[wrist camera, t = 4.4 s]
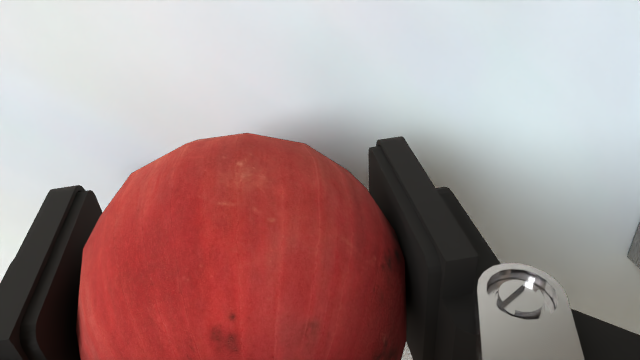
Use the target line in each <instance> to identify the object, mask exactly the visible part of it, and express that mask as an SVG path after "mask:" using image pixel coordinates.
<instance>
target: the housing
mask: <svg viewBox="0 0 640 360" xmlns="http://www.w3.org/2000/svg"><path fill="white" fill-rule="evenodd" d="M627 257H628V258H629V259H630V260H631V261H632V262H633V263H635V264H636V265H637V266H638V267H639V268H640V223H639V226H638V229H637V232H636V234H635V237H634V240H633V243H632V245H631V248H630V251H629V254H628V256H627Z"/></svg>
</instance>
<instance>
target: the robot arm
mask: <svg viewBox="0 0 640 360" xmlns="http://www.w3.org/2000/svg"><path fill="white" fill-rule="evenodd" d="M369 193H370V195H371V196H372V198H373V199H374V201H375V202H376V204H377V205H378V206H379V208H380V209H381V211H382V212H383V214H384V215H385V217H386V218H387V220H388V221H389V223H390V224H391V226H392V227H393V229H394V230H395V233H396V235H397V238H398V241H399V244H400V247H401V250H402V253H403V256H404V259H405V284H406V341H407V344H408V347H409V349H410V352H411V355H412V357H413V360H640V335H638V334H635V333H632V332H630V331H627V330H625V329H622V328H619V327H617V326H614V325H612V324H609V323H607V322H604V321H601V320H599V319H596V318H594V317H591V316H588V315H586V314H583V313H581V312H578V311H575V310H573V309H571V308H570V304H569V301H568V297H567V295H566V293H565V291H564V289H563V287H562V286H561V285H560V284H559V283H558V282H557V281H556V279H555V278H553V277H552V276H550V275H549V274H547V273H546V272H544V271H543V270H540V269H538V268H535V267H532V266H530V265H525V264H519V263H503V264H500V262H499V261H498V259H497V258H496V256H495V255H494V253H493V252H492V250H491V249H490V247H489V246H488V244H487V243H486V241H485V240H484V239H483V237H482V236H481V234H480V233H479V231H478V230H477V228H476V227H475V225H474V224H473V222H472V221H471V219H470V218H469V216H468V215H467V213H466V212H465V210H464V209H463V207H462V206H461V204H460V203H459V202H458V200H457V199H456V197H455V196H454V194H453V193H452V191H451V190H450V189H449V188H447V187H441V188H435V187H434V185H433V183H432V182H431V180H430V179H429V177H428V176H427V174H426V172H425V171H424V169H423V168H422V166H421V164H420V163H419V161H418V160H417V158H416V157H415V155H414V153H413V152H412V150H411V149H410V147H409V146H408V144H407V142H406V141H405V139H404V138H403V137H395V138H388V139H381V140H378V141H377V143H376V147H371V148H369ZM101 214H102V210H101V208H100V206H99V203H98V201H97V198H96V196H95V194H94V193H93V191H91V190H89V191H85V190H84V188H83V187H82V186H80V185H77V186H70V187H64V188H57V189H52V190H50V191H49V193H48V194H47V196H46V198H45V200H44V202H43V204H42V206H41V208H40V210H39V212H38V214H37V216H36V218H35V220H34V222H33V224H32V226H31V228H30V229H29V231H28V233H27V235H26V237H25V239H24V241H23V243H22V245H21V247H20V249H19V251H18V253H17V255H16V257H15V259H14V260H13V261H12V263H11V264H10V266H9V268H8V270H7V272H6V274H5V275H4V277H3V279H2V281H1V283H0V360H81V358H80V352H79V346H78V340H77V334H76V323H77V309H78V295H79V285H80V275H81V266H82V256H83V248H84V246H85V244H86V242H87V240H88V239H89V237H90V235H91V233H92V231H93V229H94V227H95V225H96V223H97V221H98V219H99V217H100V216H101Z"/></svg>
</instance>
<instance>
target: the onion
mask: <svg viewBox="0 0 640 360" xmlns="http://www.w3.org/2000/svg"><path fill="white" fill-rule="evenodd" d="M76 334H77V340H78V346H79V352H80V358H81V360H401V358H402V354H403V351H404V347H405V343H406V284H405V259H404V256H403V253H402V250H401V247H400V244H399V241H398V238H397V235H396V233H395V230H394V229H393V227H392V226H391V224H390V223H389V221H388V220H387V218H386V217H385V215H384V214H383V212H382V211H381V209H380V208H379V206H378V205H377V204H376V202H375V201H374V199H373V198H372V196H371V195H370V193H369V192H368V190H367V189H366V188H365V187H364V186H363V185H362V184H361V183H360V182H359V181H358V180H357V179H356V178H355V177H354V176H353V175H352V174H351V173H350V172H349V171H348V170H346V169H345V168H343V167H342V166H340V165H338V164H337V163H335V162H334V161H332V160H330V159H329V158H327V157H326V156H324V155H322V154H321V153H319V152H318V151H316V150H315V149H313V148H311V147H310V146H308V145H307V144H304V143H299V142H293V141H288V140H283V139H277V138H272V137H266V136H261V135H256V134H250V133H243V134H236V135H228V136H221V137H214V138H207V139H199V140H196V141H193V142H190V143H187V144H185V145H183V146H181V147H179V148H177V149H175V150H174V151H172V152H170V153H168V154H166V155H164V156H162V157H161V158H159V159H157V160H155V161H153V162H151V163H150V164H148V165H146V166H144V167H142V168H140V169H138V170H137V171H135V172H133V173H131V175H130V176H129V177H128V179H127V180H126V181H125V183H124V184H123V185H122V187H121V188H120V190H119V191H118V192H117V194H116V195H115V196H114V198H113V199H112V201H111V202H110V203H109V205H108V206H107V207H106V209H105V210H104V212H103V213H102V214H101V216H100V217H99V219H98V221H97V223H96V225H95V227H94V229H93V231H92V233H91V235H90V237H89V239H88V240H87V242H86V244H85V246H84V248H83V256H82V266H81V275H80V285H79V295H78V309H77V323H76Z"/></svg>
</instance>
